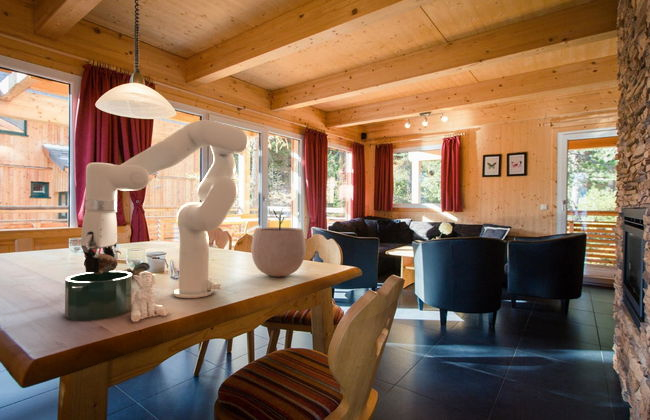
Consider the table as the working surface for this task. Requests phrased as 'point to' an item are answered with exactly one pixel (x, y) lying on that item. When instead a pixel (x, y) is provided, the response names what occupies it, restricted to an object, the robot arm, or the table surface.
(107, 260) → the mushroom
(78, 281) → the pot
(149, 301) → the seated beast figurine
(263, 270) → the plant pot
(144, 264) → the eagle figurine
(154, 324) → the table surface
